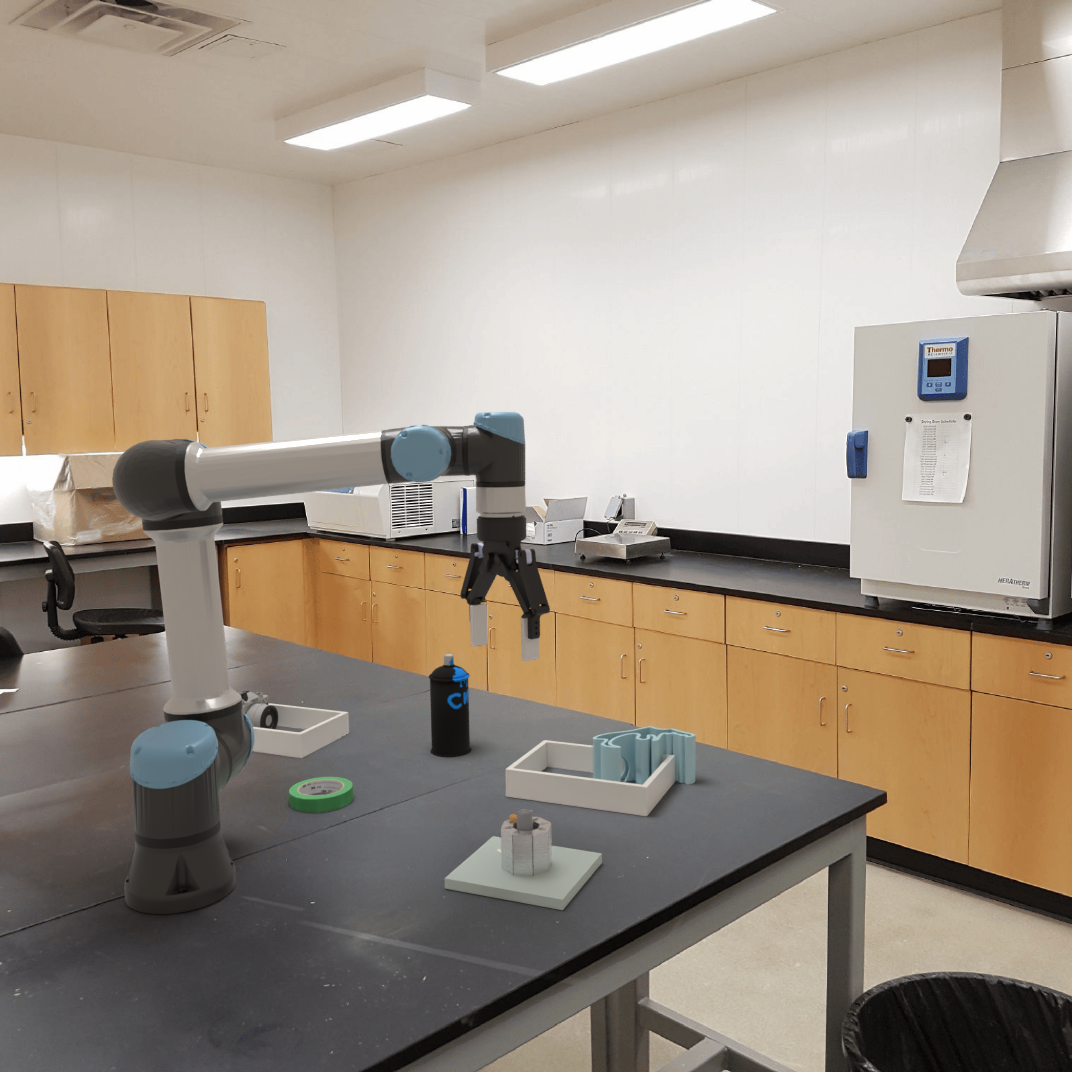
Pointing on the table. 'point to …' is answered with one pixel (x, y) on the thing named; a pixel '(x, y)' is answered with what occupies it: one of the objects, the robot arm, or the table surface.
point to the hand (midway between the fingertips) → (503, 652)
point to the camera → (259, 709)
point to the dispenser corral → (583, 780)
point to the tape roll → (311, 803)
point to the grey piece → (526, 847)
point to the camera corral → (294, 744)
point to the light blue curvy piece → (643, 754)
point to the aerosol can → (449, 710)
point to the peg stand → (541, 890)
